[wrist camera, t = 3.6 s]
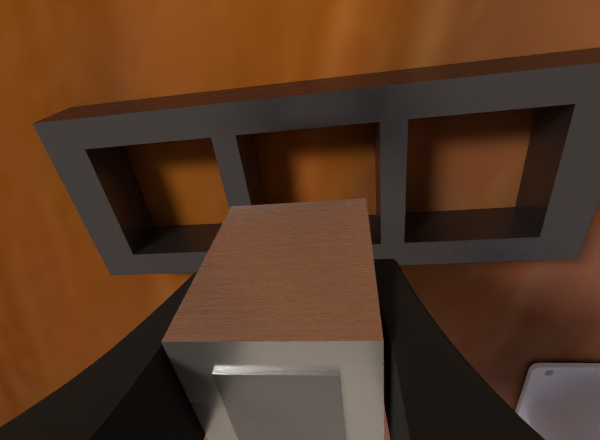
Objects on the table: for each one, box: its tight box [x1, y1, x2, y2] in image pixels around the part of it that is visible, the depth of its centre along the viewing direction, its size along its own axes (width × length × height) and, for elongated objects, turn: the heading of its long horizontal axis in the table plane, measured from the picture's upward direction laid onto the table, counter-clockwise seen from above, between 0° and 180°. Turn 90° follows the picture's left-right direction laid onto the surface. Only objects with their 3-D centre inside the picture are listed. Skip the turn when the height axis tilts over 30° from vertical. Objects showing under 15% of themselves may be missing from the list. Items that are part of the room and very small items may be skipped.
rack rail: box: [33, 48, 600, 275], centre depth 16 cm, size 22×8×2 cm, turn 97°
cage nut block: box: [161, 198, 384, 440], centre depth 9 cm, size 4×4×5 cm
